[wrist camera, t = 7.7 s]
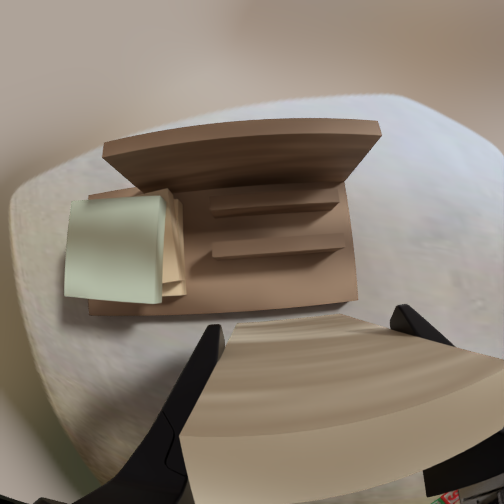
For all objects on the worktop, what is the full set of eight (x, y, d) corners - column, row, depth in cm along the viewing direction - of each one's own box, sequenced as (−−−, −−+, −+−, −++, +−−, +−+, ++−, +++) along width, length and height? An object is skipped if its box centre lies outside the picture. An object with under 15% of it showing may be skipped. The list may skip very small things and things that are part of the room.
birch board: (340, 338, 16) (503, 428, 3) (239, 348, 16) (195, 504, 3) (339, 313, 16) (515, 362, 3) (237, 323, 16) (178, 435, 3)
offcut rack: (352, 299, 23) (408, 306, 13) (97, 314, 23) (27, 324, 13) (337, 176, 24) (377, 121, 14) (96, 199, 24) (34, 163, 14)
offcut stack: (191, 299, 21) (174, 303, 17) (95, 302, 21) (64, 304, 17) (186, 199, 22) (170, 179, 18) (94, 211, 22) (66, 197, 18)
